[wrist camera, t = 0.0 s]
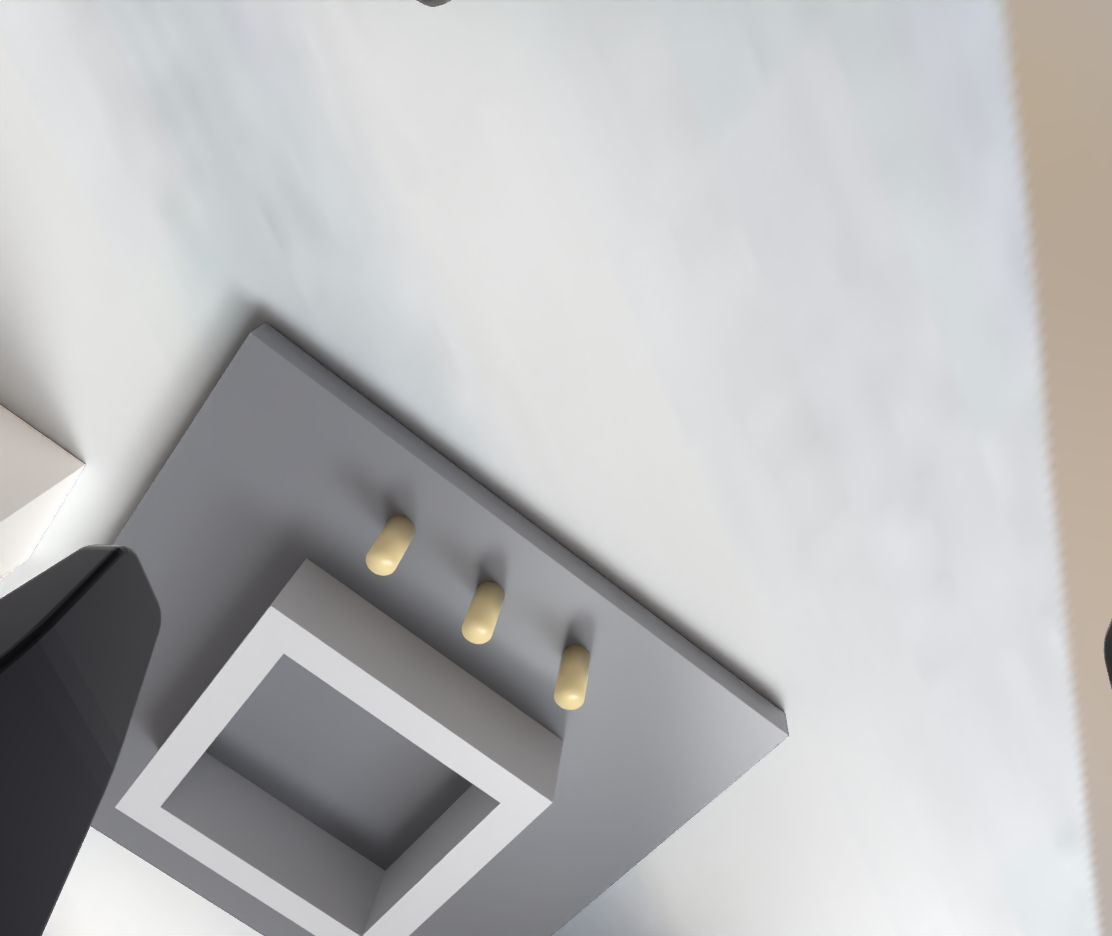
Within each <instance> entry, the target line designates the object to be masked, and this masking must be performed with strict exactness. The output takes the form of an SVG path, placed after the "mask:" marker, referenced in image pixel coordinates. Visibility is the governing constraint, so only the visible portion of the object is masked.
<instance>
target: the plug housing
mask: <svg viewBox="0 0 1112 936" xmlns="http://www.w3.org/2000/svg"><path fill="white" fill-rule="evenodd" d="M85 465H86V464H84V463H83V462H81V461H80V460H78V459H77V458H76V457H74V456H73V455H71V454H70V453H68V452H67V451H66V450H64V449H63V448H61V447H60V446H58V445H57V444H56V443H54V442H53V441H51V440H50V439H48V438H47V437H46V436H44V435H43V434H41V433H40V432H38V431H37V430H36V429H34V428H33V427H31V426H30V425H28V424H27V423H26V422H24V421H23V420H21V419H20V418H19V417H17V416H16V415H14V414H13V413H11V412H10V411H9V410H7V409H6V408H4V407H3V406H1V405H0V580H1V579H2V578H3V577H5V576H6V575H7V574H9V573H10V572H11V571H13V570H14V569H15V568H17V567H18V566H19V565H20V564H22V563H23V562H24V561H26V560H27V559H28V558H29V557H30V556H31V554H32V553H33V551H34V549H35V548H36V546H37V544H38V543H39V541H40V539H41V538H42V536H43V534H44V533H45V531H46V529H47V528H48V526H49V524H50V523H51V521H52V519H53V518H54V516H55V514H56V513H57V511H58V510H59V508H60V506H61V505H62V503H63V501H64V500H65V498H66V496H67V495H68V493H69V491H70V490H71V488H72V486H73V485H74V483H75V481H76V480H77V478H78V476H79V475H80V473H81V471H82V470H83V468H84V466H85Z"/></svg>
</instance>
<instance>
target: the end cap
mask: <svg viewBox="0 0 1112 936" xmlns="http://www.w3.org/2000/svg"><path fill="white" fill-rule="evenodd" d="M417 1H419V2H421V3H423V4H425V5H427V6H430V7H435V6H439V5H443V4H445V3H447V2H449V1H451V0H417Z"/></svg>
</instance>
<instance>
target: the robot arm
mask: <svg viewBox="0 0 1112 936" xmlns="http://www.w3.org/2000/svg"><path fill="white" fill-rule="evenodd" d="M160 627H161V609H160V604H159V602H158V599H157V597H156V595H155V593H154V590H153V588H152V586H151V584H150V582H149V579H148V577H147V575H146V573H145V571H144V568H143V566H142V564H141V562H140V559H139V557H138V556H137V554H136V552H134V551H133V550H132V549H131V548H130V547H127V546H124V545H89V546H85V547H83V548H81V549H79V550H78V551H76V552H74V553H73V554H71V555H70V556H68V557H66V558H65V559H63V560H62V561H60V562H58V563H57V564H55V565H54V566H52V567H50V568H49V569H47V570H46V571H44V572H42V573H41V574H39V575H38V576H36V577H34V578H33V579H31V580H30V581H28V582H26V583H25V584H23V585H22V586H20V587H19V588H17V589H15V590H14V591H12V592H11V593H9V594H7V595H6V596H4V597H3V598H1V599H0V936H42V934H43V932H44V929H45V927H46V925H47V922H48V920H49V918H50V916H51V913H52V911H53V909H54V907H55V904H56V902H57V900H58V898H59V895H60V893H61V891H62V889H63V886H64V884H65V882H66V880H67V877H68V875H69V873H70V870H71V868H72V866H73V864H74V861H75V859H76V857H77V855H78V852H79V850H80V848H81V846H82V843H83V841H84V839H85V837H86V834H87V832H88V830H89V828H90V825H91V823H92V821H93V818H94V816H95V814H96V812H97V809H98V807H99V805H100V803H101V800H102V798H103V796H104V793H105V791H106V789H107V786H108V784H109V781H110V779H111V776H112V774H113V772H114V769H115V766H116V763H117V761H118V758H119V755H120V752H121V750H122V747H123V744H124V740H125V737H126V734H127V731H128V728H129V725H130V722H131V719H132V716H133V712H134V709H135V706H136V703H137V700H138V697H139V694H140V691H141V687H142V684H143V681H144V678H145V675H146V672H147V669H148V666H149V663H150V659H151V656H152V653H153V650H154V647H155V644H156V641H157V638H158V635H159V631H160ZM1104 657H1105V664H1106V668H1107V672H1108V676H1109V680H1110V684H1111V689H1112V619H1111V622H1110V624H1109V627H1108V629H1107V632H1106V635H1105V641H1104Z"/></svg>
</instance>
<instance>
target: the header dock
mask: <svg viewBox="0 0 1112 936" xmlns="http://www.w3.org/2000/svg"><path fill="white" fill-rule="evenodd" d="M112 545H124V546H127V547H130V548H131V549H132V550H133V551H134V552H136V554H137V556H138V557H139V559H140V562H141V564H142V566H143V568H144V571H145V573H146V575H147V577H148V579H149V582H150V584H151V586H152V588H153V590H154V593H155V595H156V597H157V599H158V602H159V604H160V609H161V627H160V631H159V635H158V638H157V641H156V644H155V647H154V650H153V653H152V656H151V659H150V663H149V666H148V669H147V672H146V675H145V678H144V681H143V684H142V687H141V691H140V694H139V697H138V700H137V703H136V706H135V709H134V712H133V716H132V719H131V722H130V725H129V728H128V731H127V734H126V737H125V740H124V744H123V747H122V750H121V752H120V755H119V758H118V761H117V763H116V766H115V769H114V772H113V774H112V776H111V779H110V781H109V784H108V786H107V789H106V791H105V793H104V796H103V798H102V800H101V803H100V805H99V807H98V809H97V812H96V814H95V816H94V818H93V821H92V823H91V825H90V826H91V827H93V828H94V829H96V830H98V831H99V832H101V833H102V834H104V835H106V836H107V837H109V838H110V839H112V840H113V841H115V842H117V843H118V844H120V845H121V846H123V847H124V848H126V849H128V850H129V851H131V852H132V853H134V854H136V855H137V856H139V857H140V858H142V859H143V860H145V861H147V862H148V863H150V864H151V865H153V866H154V867H156V868H158V869H159V870H161V871H162V872H164V873H166V874H167V875H169V876H170V877H172V878H173V879H175V880H177V881H178V882H180V883H181V884H183V885H185V886H186V887H188V888H189V889H191V890H192V891H194V892H196V893H197V894H199V895H200V896H202V897H203V898H205V899H207V900H208V901H210V902H211V903H213V904H215V905H216V906H218V907H219V908H221V909H222V910H224V911H226V912H227V913H229V914H230V915H232V916H234V917H235V918H237V919H238V920H240V921H241V922H243V923H245V924H246V925H248V926H249V927H251V928H252V929H254V930H256V931H257V932H259V933H260V934H262V935H264V936H552V935H553V934H554V933H555V932H556V931H558V930H559V929H560V928H561V927H562V926H563V925H565V924H566V923H567V922H568V921H569V920H571V919H572V918H573V917H574V916H575V915H577V914H578V913H579V912H580V911H581V910H582V909H584V908H585V907H586V906H587V905H588V904H590V903H591V902H592V901H593V900H594V899H596V898H597V897H598V896H599V895H600V894H602V893H603V892H604V891H605V890H606V889H607V888H609V887H610V886H611V885H612V884H613V883H615V882H616V881H617V880H618V879H619V878H621V877H622V876H623V875H624V874H625V873H627V872H628V871H629V870H630V869H631V868H632V867H634V866H635V865H636V864H637V863H638V862H640V861H641V860H642V859H643V858H644V857H646V856H647V855H648V854H649V853H650V852H651V851H653V850H654V849H655V848H656V847H657V846H659V845H660V844H661V843H662V842H663V841H665V840H666V839H667V838H668V837H669V836H671V835H672V834H673V833H674V832H675V831H676V830H678V829H679V828H680V827H681V826H682V825H684V824H685V823H686V822H687V821H688V820H690V819H691V818H692V817H693V816H694V815H696V814H697V813H698V812H699V811H700V810H701V809H703V808H704V807H705V806H706V805H707V804H709V803H710V802H711V801H712V800H713V799H715V798H716V797H717V796H718V795H719V794H721V793H722V792H723V791H724V790H725V789H726V788H728V787H729V786H730V785H731V784H732V783H734V782H735V781H736V780H737V779H738V778H740V777H741V776H742V775H743V774H744V773H745V772H747V771H748V770H749V769H750V768H751V767H753V766H754V765H755V764H756V763H757V762H759V761H760V760H761V759H762V758H763V757H765V756H766V755H767V754H768V753H769V752H770V751H772V750H773V749H774V748H775V747H776V746H778V745H779V744H780V743H781V742H782V741H784V740H785V739H786V738H787V737H788V736H789V733H788V727H787V721H786V714H785V713H784V712H783V711H781V710H780V709H779V708H777V707H776V706H775V705H773V704H772V703H771V702H769V701H768V700H767V699H765V698H764V697H763V696H761V695H760V694H759V693H757V692H756V691H755V690H753V689H752V688H751V687H750V686H748V685H747V684H746V683H744V682H743V681H742V680H740V679H739V678H738V677H736V676H735V675H734V674H732V673H731V672H730V671H728V670H727V669H726V668H724V667H723V666H722V665H720V664H719V663H718V662H716V661H715V660H714V659H712V658H711V657H710V656H708V655H707V654H706V653H704V652H703V651H702V650H700V649H699V648H698V647H696V646H695V645H694V644H692V643H691V642H690V641H688V640H687V639H686V638H684V637H683V636H682V635H680V634H679V633H678V632H676V631H675V630H674V629H672V628H671V627H670V626H668V625H667V624H666V623H664V622H663V621H662V620H660V619H659V618H658V617H656V616H655V615H654V614H653V613H651V612H650V611H649V610H647V609H646V608H645V607H643V606H642V605H641V604H639V603H638V602H637V601H635V600H634V599H633V598H631V597H630V596H629V595H627V594H626V593H625V592H623V591H622V590H621V589H619V588H618V587H617V586H615V585H614V584H613V583H611V582H610V581H609V580H607V579H606V578H605V577H603V576H602V575H601V574H599V573H598V572H597V571H595V570H594V569H593V568H591V567H590V566H589V565H587V564H586V563H585V562H583V561H582V560H581V559H579V558H578V557H577V556H575V555H574V554H573V553H571V552H570V551H569V550H567V549H566V548H565V547H563V546H562V545H561V544H559V543H558V542H557V541H556V540H554V539H553V538H552V537H550V536H549V535H548V534H546V533H545V532H544V531H542V530H541V529H540V528H538V527H537V526H536V525H534V524H533V523H532V522H530V521H529V520H528V519H526V518H525V517H524V516H522V515H521V514H520V513H518V512H517V511H516V510H514V509H513V508H512V507H510V506H509V505H508V504H506V503H505V502H504V501H502V500H501V499H500V498H498V497H497V496H496V495H494V494H493V493H492V492H490V491H489V490H488V489H486V488H485V487H484V486H482V485H481V484H480V483H478V482H477V481H476V480H474V479H473V478H472V477H470V476H469V475H468V474H466V473H465V472H464V471H462V470H461V469H460V468H459V467H457V466H456V465H455V464H453V463H452V462H451V461H449V460H448V459H447V458H445V457H444V456H443V455H441V454H440V453H439V452H437V451H436V450H435V449H433V448H432V447H431V446H429V445H428V444H427V443H425V442H424V441H423V440H421V439H420V438H419V437H417V436H416V435H415V434H413V433H412V432H411V431H409V430H408V429H407V428H405V427H404V426H403V425H401V424H400V423H399V422H397V421H396V420H395V419H393V418H392V417H391V416H389V415H388V414H387V413H385V412H384V411H383V410H381V409H380V408H379V407H377V406H376V405H375V404H373V403H372V402H371V401H369V400H368V399H367V398H365V397H364V396H363V395H362V394H360V393H359V392H358V391H356V390H355V389H354V388H352V387H351V386H350V385H348V384H347V383H346V382H344V381H343V380H342V379H340V378H339V377H338V376H336V375H335V374H334V373H332V372H331V371H330V370H328V369H327V368H326V367H324V366H323V365H322V364H320V363H319V362H318V361H316V360H315V359H314V358H312V357H311V356H310V355H308V354H307V353H306V352H304V351H303V350H302V349H300V348H299V347H298V346H296V345H295V344H294V343H292V342H291V341H290V340H288V339H287V338H286V337H284V336H283V335H282V334H280V333H279V332H278V331H276V330H275V329H274V328H272V327H271V326H270V325H269V324H267V323H264V324H263V325H261V326H260V327H258V328H256V329H255V330H253V331H252V332H250V333H249V335H248V336H247V338H246V339H245V341H244V342H243V344H242V346H241V347H240V349H239V350H238V352H237V353H236V355H235V356H234V358H233V359H232V361H231V362H230V364H229V366H228V367H227V369H226V370H225V372H224V373H223V375H222V376H221V378H220V379H219V381H218V383H217V384H216V386H215V387H214V389H213V390H212V392H211V393H210V395H209V396H208V398H207V399H206V401H205V403H204V404H203V406H202V407H201V409H200V410H199V412H198V413H197V415H196V416H195V418H194V419H193V421H192V423H191V424H190V426H189V427H188V429H187V430H186V432H185V433H184V435H183V436H182V438H181V439H180V441H179V443H178V444H177V446H176V447H175V449H174V450H173V452H172V453H171V455H170V456H169V458H168V460H167V461H166V463H165V464H164V466H163V467H162V469H161V470H160V472H159V473H158V475H157V476H156V478H155V480H154V481H153V483H152V484H151V486H150V487H149V489H148V490H147V492H146V493H145V495H144V496H143V498H142V500H141V501H140V503H139V504H138V506H137V507H136V509H135V510H134V512H133V513H132V515H131V516H130V518H129V520H128V521H127V523H126V524H125V526H124V527H123V529H122V530H121V532H120V533H119V535H118V537H117V538H116V540H115V541H114V543H113V544H112Z"/></svg>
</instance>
